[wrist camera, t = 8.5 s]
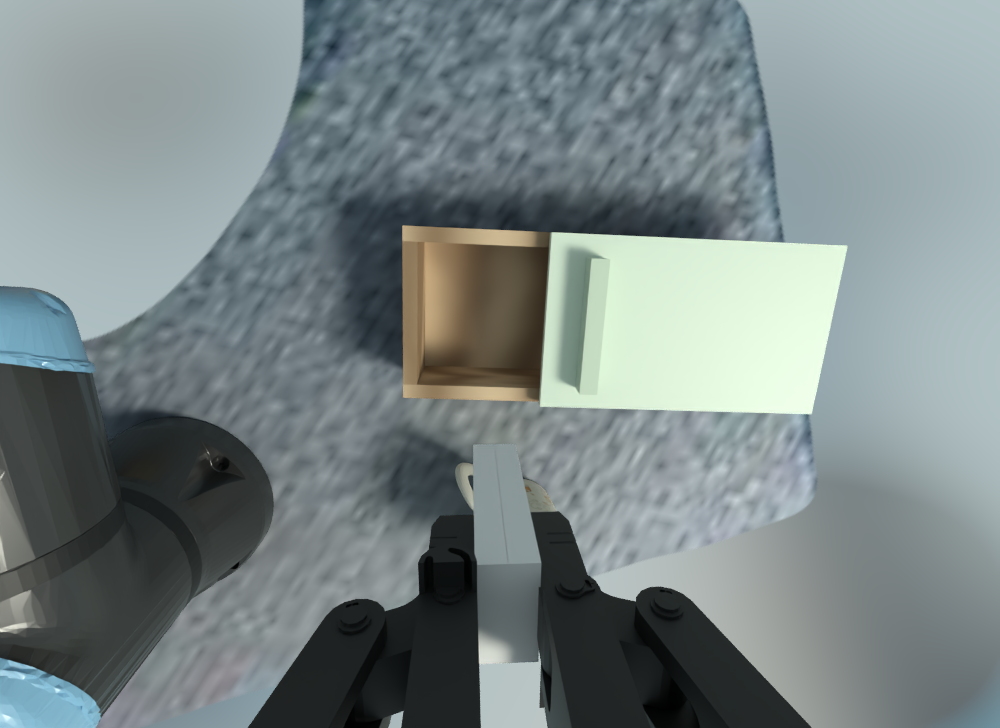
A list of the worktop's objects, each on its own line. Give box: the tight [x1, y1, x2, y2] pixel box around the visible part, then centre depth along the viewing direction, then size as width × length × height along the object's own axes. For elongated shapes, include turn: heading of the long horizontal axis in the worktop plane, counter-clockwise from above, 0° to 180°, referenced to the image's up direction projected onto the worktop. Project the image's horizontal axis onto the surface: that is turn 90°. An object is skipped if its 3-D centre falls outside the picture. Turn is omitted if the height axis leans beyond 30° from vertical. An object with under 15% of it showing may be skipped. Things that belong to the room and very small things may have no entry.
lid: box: [539, 232, 847, 414], centre depth 34 cm, size 20×12×2 cm, turn 88°
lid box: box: [402, 226, 550, 402], centre depth 38 cm, size 20×12×6 cm, turn 88°
